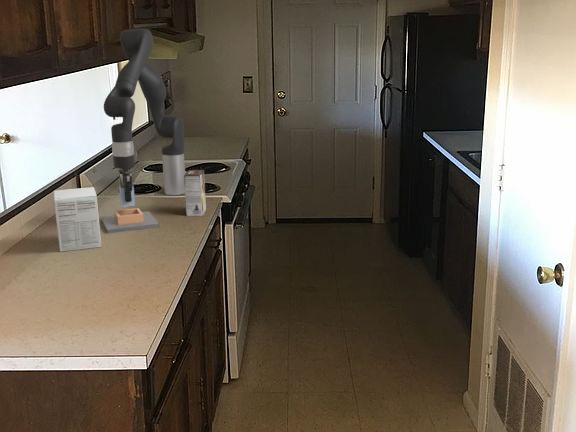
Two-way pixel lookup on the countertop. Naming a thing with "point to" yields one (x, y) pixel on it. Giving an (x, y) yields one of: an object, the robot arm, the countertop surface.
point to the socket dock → (128, 220)
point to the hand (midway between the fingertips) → (127, 199)
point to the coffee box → (195, 192)
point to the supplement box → (77, 219)
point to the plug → (122, 196)
